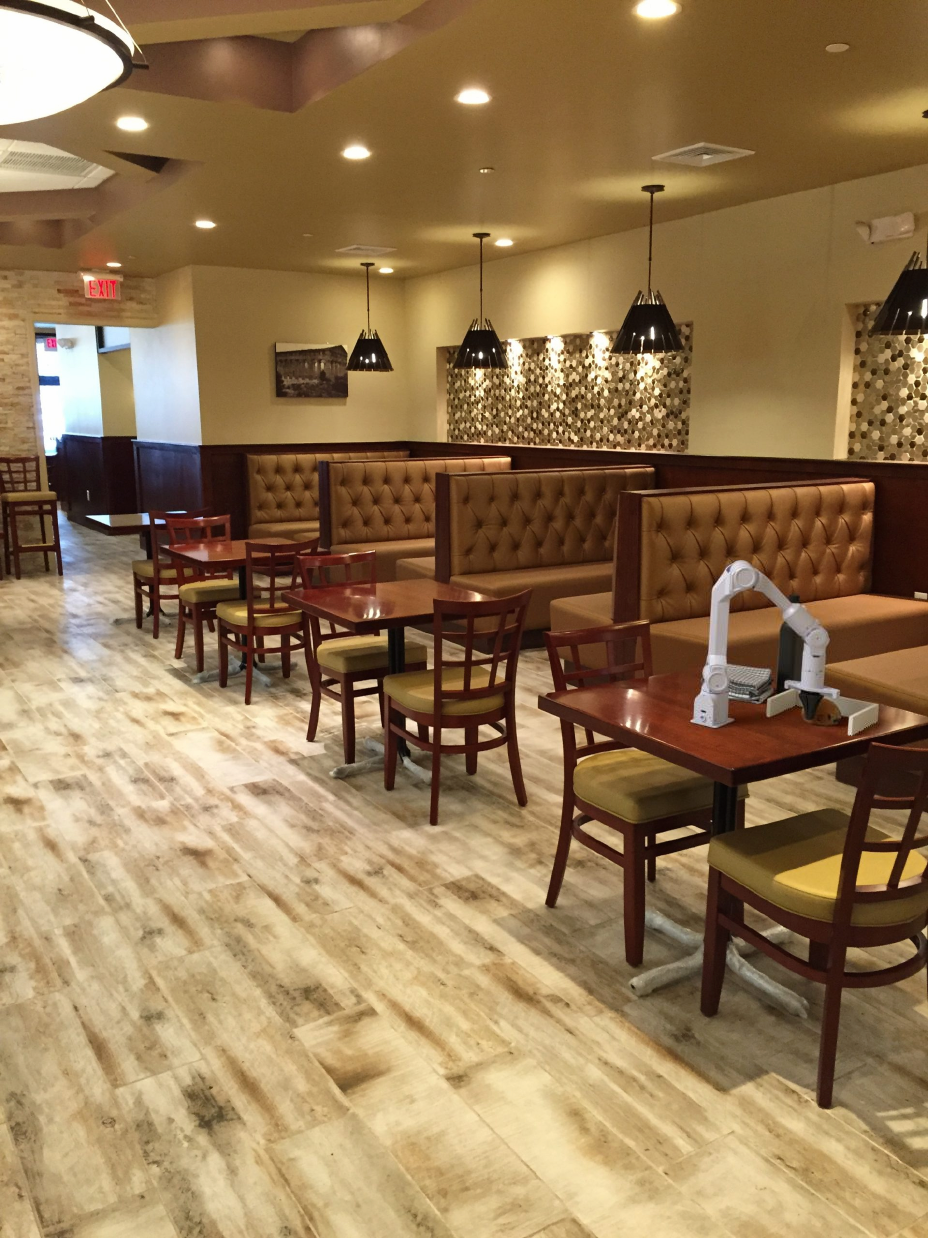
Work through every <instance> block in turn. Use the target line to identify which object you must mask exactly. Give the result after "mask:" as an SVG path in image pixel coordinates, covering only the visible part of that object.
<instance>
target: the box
mask: <svg viewBox="0 0 928 1238" xmlns="http://www.w3.org/2000/svg"><path fill="white" fill-rule="evenodd" d="M800 692H801V691H800V690H795V689H790V690H788V691H785V692H783V693H780V694H776V695H773V696H771V697H767V698H766V699H767V701H766V717H768V718H771V717H773V716H775V715H777V714H780V713H782V712H785V711H787V710H789V709H791V708H793V706H794V707H800V708H803V705H802V702H801V700H800V698H799V696H798V694H799V693H800ZM823 698H826V699H828V700H830V701H833V702H834V703H835V704H836V705H837V706H838V708H839V710H840V712H841V717H847V718H848V726H847V735H848V736H850V735H851V737H852V736H854V735H856V734H858V733H860V732H861V731H863V730H865V729H867V728H869V727H871V726H872V725H871V724H873V723H875V724H876V722H877V723H878V720H879V707H880V706H879V705H880V704H879V703H876V702H875V703H874V702H870V701H864V700H860V699H856V698H855V699H854V698H850V697H845V696H840V697H839V698H833V697H830V696H825V695H824V697H823ZM795 705H797V706H795ZM788 708H789V709H788ZM786 709H787V710H786ZM784 710H785V711H784ZM870 725H871V726H870ZM873 725H874V724H873ZM868 726H869V727H868ZM866 727H867V728H866ZM864 728H865V729H864ZM859 731H860V732H859Z"/></svg>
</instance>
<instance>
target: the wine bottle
mask: <svg viewBox="0 0 928 1238" xmlns="http://www.w3.org/2000/svg"><path fill="white" fill-rule="evenodd" d="M800 597H801V595H800V594H796V593H792V594H788V600H789V601H790V602H791V603H798V604H800V599H801V598H800ZM778 633H779V634H778V652H777V667H776V682H775V684H776V685H775V694H776V695H778V694H780V693H783V692H785V691H788V690H790V688H789V689H787V688H785V681H787V680H792V681H800V682H801V674H802V659H803V651H804V642H805V640H803V639H802V636H800V635H798V634H797V633H796V632H795V631H794V630H793V629H792V628H791V627H790V626H789V625H788V624H787V623H786V622H785V621H783V622H782V624H781V625H780V627H779V632H778Z"/></svg>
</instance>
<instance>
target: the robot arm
mask: <svg viewBox="0 0 928 1238" xmlns="http://www.w3.org/2000/svg"><path fill="white" fill-rule="evenodd" d="M749 589H752V590H753V591H757V592H760V593H763V594H764V595H765V596H766V597H767V598H768V599H770V600H771V602H772V603H774V604H775V606H777V607H778V608H779V610H781V611H782V617H781V618H782V619H783V620H784V621H785V622H786V623H787V624H788V625H789V626H790V627H791V628H792V629H793V630H794V631H795V632H796V633H797V634H798V635H800V636H802V639H803V640H804V651H803V659H802V674H801V682H800V681H792V680H787V681H785V688H787V689H789V688H790V689H795V690H800V691H801V692H800V693H799V694H798V696H799V698H800V700H801V702H802V705H803V707H802V709H803V708H804V712H805V717H806V719H808V720H812V719H814V716H815V713H816V710H817V708H818V705H819V704H820V702H821V700H822V699H823V697H824V695H825V696H830V697H833V698H839V697H841V690H840V689H837V688H833V687H830V686H828V685H824V683H825V669H826V656H827V655H826V650H827V646H828V645H829V643H830V640H831V639H830V638H829V632H827V630H826V629H825V628H824V627H823V626H822V625H821V624H820V623H821V622H820V621H819V619H815V618H814V617H813V616H812V615H811V613H809V612H808V608H807V607H806V605H804V604H803V605H802V604H800V603H799V604H798V603H791V602H790V601H789V598H787V597H786V596H785V594H783V593H782V592H781V591H780V589H779V588H778V587H777V586H776V585H775V584H774V583H773V582H772V581H771V580H770V578H768V577H767V576H766V575H765V574H763V572H761V571H760V570H758V569H757V568H756V567H753V566H752V565H751V563H749V561H746V560H743V559H742V560H741V559H740V560H736V561H734V562H733V563H731V564H730V565H728V566H727V567H725V569H724V571H723V573H722V574H721V576H720V577H719V578H718V580H717V581H716V583H715V584H714V585H713V587H712V589H711V601H710V602H711V604H710V619H709V637H708V654H707V656H706V662H705V665H704V667H703V669H702V677H704V679H705V683H704V684H702V685H701V689H700V693H699V694H698V695H696V697H695V699H694V702H693V703H694V704H693V718H692V719H691V720H690V723H693V724H697V725H700V726H706V727H710V728H713V729H718V728H720V727H722V726H725V725H727V724H730V723H732V722H734V721H735V719H734V718H731V717H729V700H730V699H729V688H728V686H729V683H730V678H729V676H728V674H727V664H728V663H727V662H728V661H727V659H728V658H727V653H728V652H727V650H728V635H729V622H730V621H729V620H730V605H731V599H732V598H733V597H735V596H736V595H737V594H739V593H740V592H743V591H745V590H749ZM784 621H783V622H784Z"/></svg>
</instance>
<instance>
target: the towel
mask: <svg viewBox="0 0 928 1238" xmlns="http://www.w3.org/2000/svg"><path fill="white" fill-rule="evenodd" d="M727 674H728V676H729V678H730V683H729V686H728V688H729V700H730V701H740V702H746V703H747V702H748V703H752V704H757V705H758V704H761V703H763V702H764V700H766V699H768V698H769V697H770V696H772V695H773V693H774V692H775V690H774V688H773V687H772V686H773V682H774V679H775V678H774V677H773V676H772V675H773V670H772V669H771V668H761V667H751V666H745V665H738V664H732V663H731V664H730V663H727ZM700 682H701V684H702V685H703V684H704V683H705V679H704V677H703V676H702V677H701V679H700Z"/></svg>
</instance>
